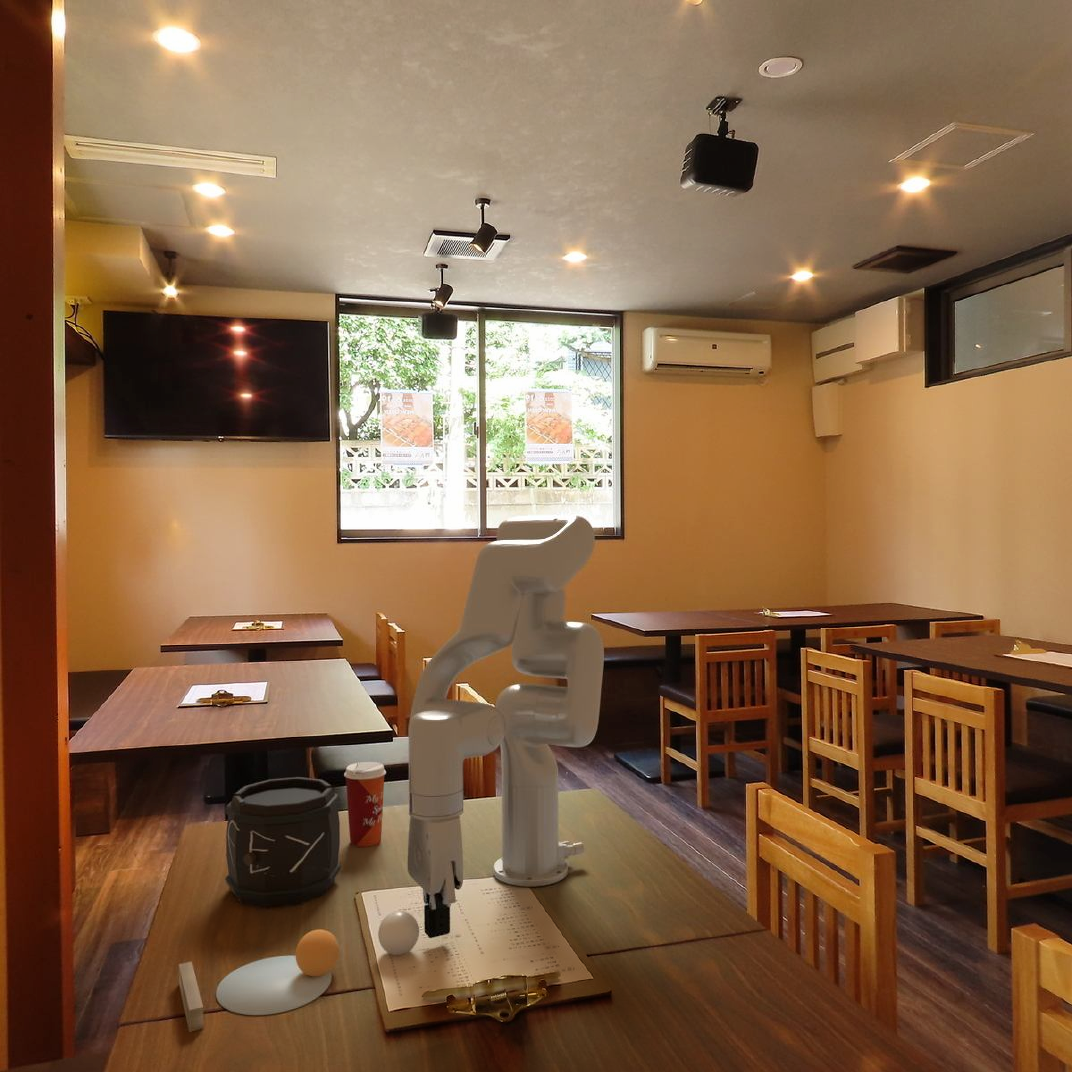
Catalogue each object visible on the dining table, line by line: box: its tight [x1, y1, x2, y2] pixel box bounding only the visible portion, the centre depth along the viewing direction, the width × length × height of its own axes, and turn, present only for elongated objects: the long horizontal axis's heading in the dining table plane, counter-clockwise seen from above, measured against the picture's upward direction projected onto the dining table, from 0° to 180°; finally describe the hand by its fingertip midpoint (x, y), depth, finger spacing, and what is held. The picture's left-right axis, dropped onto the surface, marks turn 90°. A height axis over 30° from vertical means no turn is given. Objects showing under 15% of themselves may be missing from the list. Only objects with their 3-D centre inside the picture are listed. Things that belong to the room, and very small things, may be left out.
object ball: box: [295, 928, 340, 977], centre depth 111 cm, size 6×6×6 cm
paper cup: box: [343, 761, 387, 848], centre depth 159 cm, size 8×8×14 cm
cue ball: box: [377, 910, 420, 956], centre depth 116 cm, size 6×6×6 cm
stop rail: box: [178, 961, 204, 1033], centre depth 104 cm, size 2×12×2 cm, turn 28°
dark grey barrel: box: [224, 776, 342, 909], centre depth 138 cm, size 18×18×16 cm
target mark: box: [215, 955, 333, 1016], centre depth 108 cm, size 14×14×1 cm
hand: (437, 933), depth 119 cm, fingers closed
